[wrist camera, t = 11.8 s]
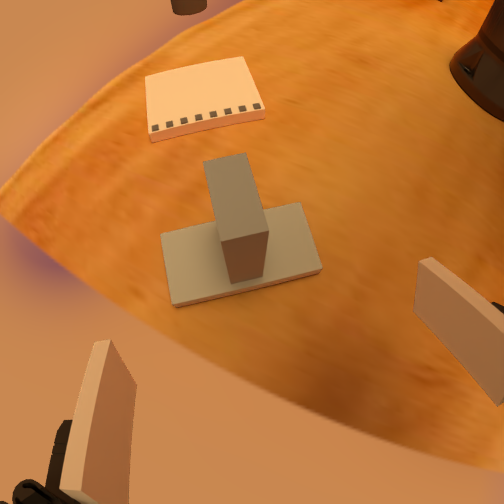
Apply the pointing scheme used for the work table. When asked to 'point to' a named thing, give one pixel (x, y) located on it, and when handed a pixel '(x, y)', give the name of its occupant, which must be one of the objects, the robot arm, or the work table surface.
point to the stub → (237, 241)
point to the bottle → (188, 6)
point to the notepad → (201, 98)
